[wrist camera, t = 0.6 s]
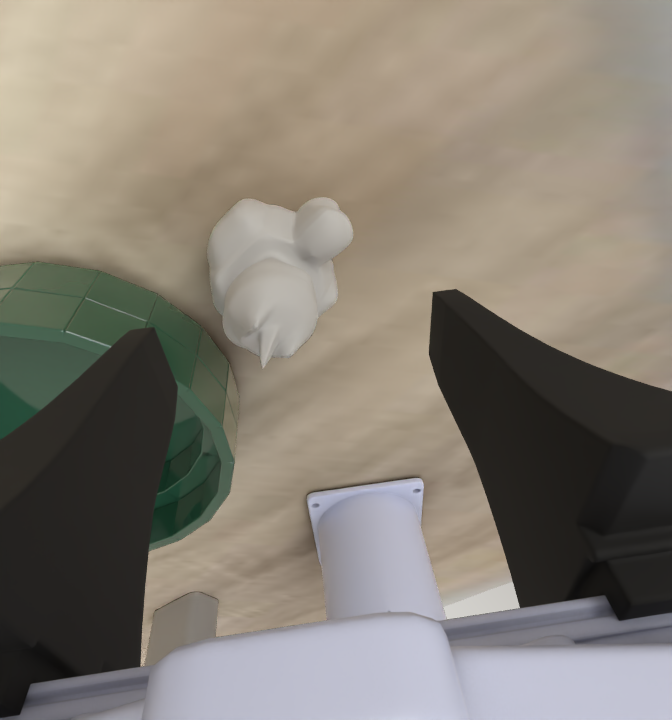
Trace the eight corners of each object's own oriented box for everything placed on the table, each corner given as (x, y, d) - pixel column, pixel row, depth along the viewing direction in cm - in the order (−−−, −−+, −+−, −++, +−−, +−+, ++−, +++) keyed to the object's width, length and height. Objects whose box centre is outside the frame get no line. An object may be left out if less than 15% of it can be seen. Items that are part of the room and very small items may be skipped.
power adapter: (222, 601, 40) (208, 789, 30) (178, 623, 41) (152, 808, 32) (194, 590, 38) (170, 785, 28) (150, 613, 39) (113, 805, 30)
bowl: (261, 463, 29) (260, 537, 25) (15, 498, 28) (-26, 578, 24) (196, 235, 19) (177, 296, 15) (-178, 280, 19) (-295, 355, 15)
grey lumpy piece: (178, 247, 20) (136, 366, 13) (288, 132, 17) (300, 210, 11) (271, 321, 22) (272, 448, 16) (376, 231, 20) (424, 338, 14)
